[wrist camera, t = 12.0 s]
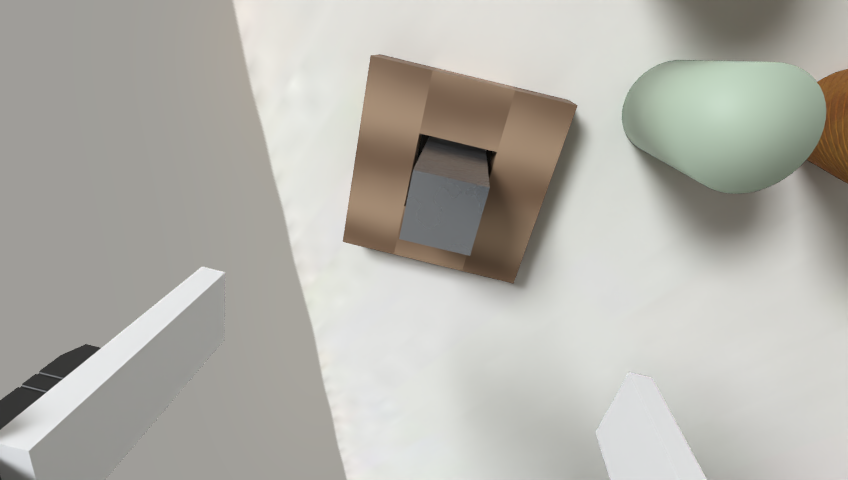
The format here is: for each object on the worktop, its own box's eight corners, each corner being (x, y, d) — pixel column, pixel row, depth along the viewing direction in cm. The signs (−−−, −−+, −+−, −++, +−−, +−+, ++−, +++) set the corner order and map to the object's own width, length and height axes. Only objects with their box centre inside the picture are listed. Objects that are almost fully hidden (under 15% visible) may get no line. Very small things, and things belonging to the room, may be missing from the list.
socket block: (510, 265, 37) (513, 283, 34) (352, 227, 37) (342, 241, 34) (568, 100, 31) (577, 105, 28) (379, 54, 31) (370, 55, 28)
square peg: (471, 200, 35) (469, 255, 26) (418, 188, 35) (399, 239, 26) (485, 148, 33) (489, 187, 24) (430, 135, 33) (413, 169, 24)
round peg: (686, 165, 32) (771, 209, 23) (605, 137, 32) (657, 170, 23) (738, 77, 29) (857, 87, 20) (650, 46, 29) (730, 42, 20)
